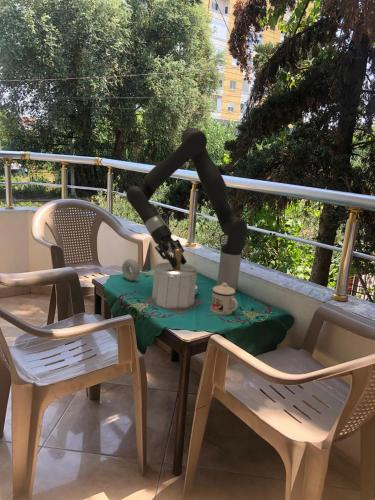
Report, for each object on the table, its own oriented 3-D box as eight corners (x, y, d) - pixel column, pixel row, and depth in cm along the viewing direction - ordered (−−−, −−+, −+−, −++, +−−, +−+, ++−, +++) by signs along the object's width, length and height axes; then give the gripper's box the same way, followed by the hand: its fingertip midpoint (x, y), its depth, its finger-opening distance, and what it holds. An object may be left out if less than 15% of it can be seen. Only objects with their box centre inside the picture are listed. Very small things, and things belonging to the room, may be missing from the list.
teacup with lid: (204, 309, 160) (208, 281, 157) (220, 305, 166) (224, 278, 163) (227, 320, 152) (230, 291, 149) (243, 316, 158) (247, 287, 155)
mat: (166, 291, 176) (166, 289, 176) (204, 303, 167) (204, 301, 167) (140, 302, 161) (140, 300, 161) (180, 316, 152) (180, 314, 152)
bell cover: (167, 290, 175) (172, 241, 169) (201, 301, 167) (207, 249, 161) (143, 301, 161) (147, 247, 156) (178, 313, 153) (184, 257, 147)
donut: (119, 277, 187) (121, 256, 184) (125, 276, 189) (127, 255, 187) (134, 284, 181) (135, 262, 178) (140, 282, 183) (141, 261, 181)
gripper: (153, 226, 154) (176, 263, 151) (174, 222, 166) (196, 256, 163) (141, 237, 158) (163, 273, 155) (162, 232, 170) (183, 266, 167)
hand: (180, 264), depth 159 cm, fingers open, 5 cm apart
